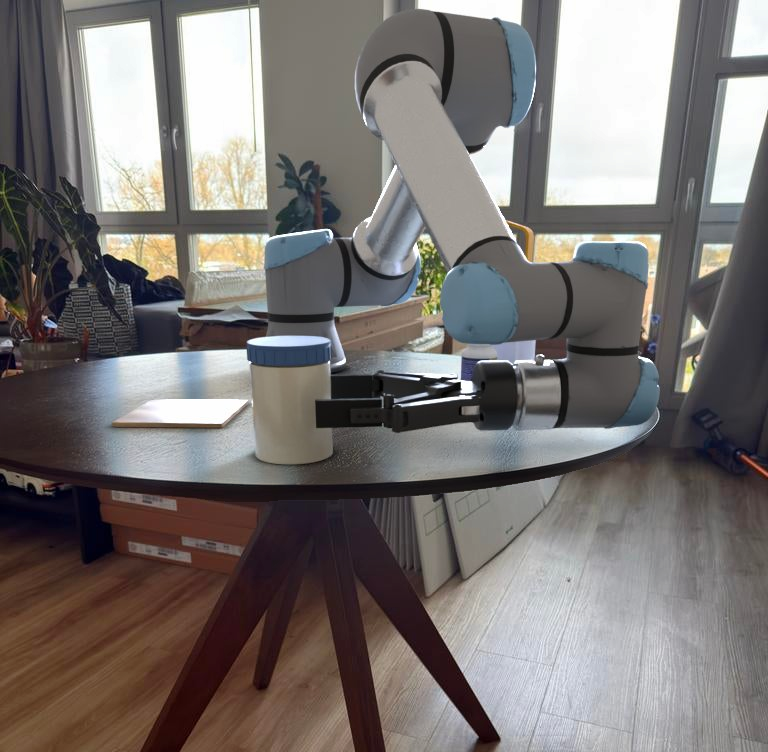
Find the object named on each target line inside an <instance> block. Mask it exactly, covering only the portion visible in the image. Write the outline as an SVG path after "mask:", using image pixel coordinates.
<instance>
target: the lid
mask: <svg viewBox="0 0 768 752" xmlns="http://www.w3.org/2000/svg"><path fill="white" fill-rule="evenodd" d="M331 358H332V346H331V340H330V339H328V338H324V337H316V336H272V337H266V336H262V337H255V338H252V339H249V340H247V341H246V360H247V361H248V362H251V363H254V364H260V365H270V366H298V365H310V364H318V363H323V362H326V361H329V360H330V359H331Z"/></svg>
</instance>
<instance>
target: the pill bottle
mask: <svg viewBox="0 0 768 752" xmlns="http://www.w3.org/2000/svg"><path fill="white" fill-rule="evenodd" d="M460 358H461V361H460V362H461V364H460V380H461V381H470V380H471V378H472V372H473V369H474V366H475V365H476V363H477V362H479V361H493V360H497V352H496V350H494V349H492V345H490V344H467V347H466V348H464V349H463V350H462V352H461V357H460Z"/></svg>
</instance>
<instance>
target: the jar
mask: <svg viewBox="0 0 768 752" xmlns="http://www.w3.org/2000/svg"><path fill="white" fill-rule="evenodd" d="M248 362H249V361H248ZM248 365H249V380H250V391H251V392H250V395H251V408H252V409H251V410H252V423H253V438H254V451H255V457H256V458H257V459H258V460H260V461H262V462H265V463H267V464H268V463H269V464H275V465H304V464H305V465H306V464H311V463H317V462H321V461H323V460H326V459H328V458H330V457H332V455H333V453H334V439H333V438H334V437H333V428H316V412H315V399H331V375H332V373H331V368H330V360H329V361H326V362H323V363H318V364H310V365H298V366H270V365H260V364H254V363H251V362H249V363H248Z"/></svg>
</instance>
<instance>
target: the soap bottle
mask: <svg viewBox="0 0 768 752" xmlns="http://www.w3.org/2000/svg"><path fill="white" fill-rule="evenodd" d="M504 220H505V222H506V224H507V225H508V227H509V226H510V227H512V228H515V229H518V230H521V231H522V232H523V233H524V235H525V253H524V255H525V257H526V259H527V261H529V262H531V263H533V255H534V254H533V253H534V240H535V234H534V231H533V230H532V229H531V228H529V227H528V226H526V225H522V224H520V223H516V222H514V221H510V220H507V219H504ZM536 342H537V340H531V341H519V342H507V343H502V344H498V345H492V349H494V350H496V352H497V360H508V361H509V362H510V363H511V364H512V365H513V364H514V363H515V362H516V361H521V360H530V361H532V362H535V357H536Z"/></svg>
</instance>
